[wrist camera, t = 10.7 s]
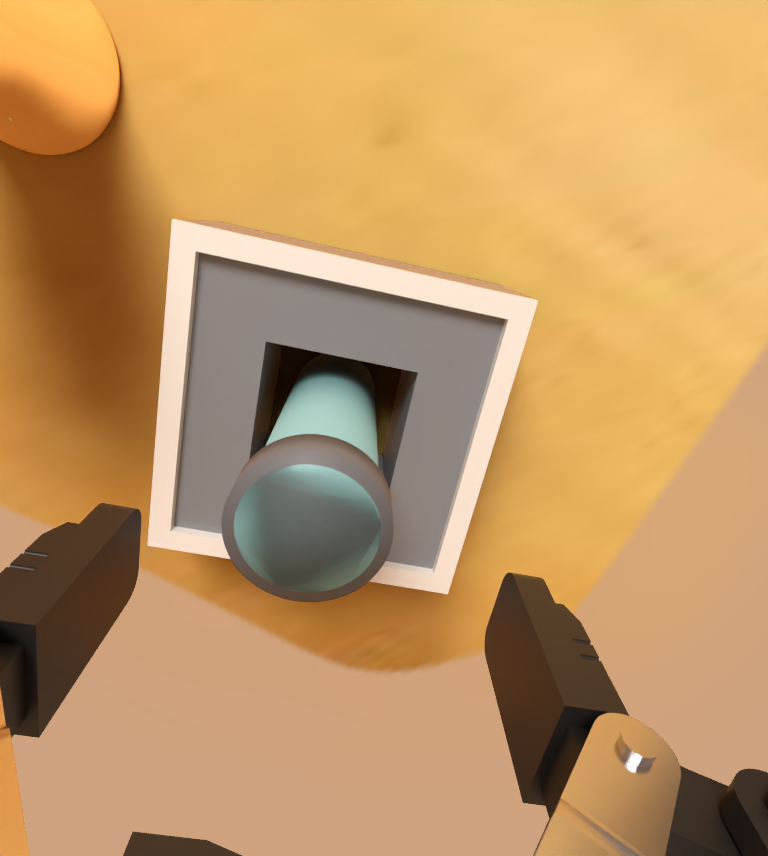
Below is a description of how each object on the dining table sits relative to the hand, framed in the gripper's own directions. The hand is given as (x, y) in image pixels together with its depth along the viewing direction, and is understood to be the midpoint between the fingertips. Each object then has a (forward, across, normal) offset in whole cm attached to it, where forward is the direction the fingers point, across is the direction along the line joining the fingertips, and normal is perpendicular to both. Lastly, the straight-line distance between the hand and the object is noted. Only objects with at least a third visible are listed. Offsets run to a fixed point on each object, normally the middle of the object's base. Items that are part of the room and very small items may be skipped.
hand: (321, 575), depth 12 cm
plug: (+14, +1, 0) cm, 14 cm away
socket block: (+14, +1, 0) cm, 14 cm away
